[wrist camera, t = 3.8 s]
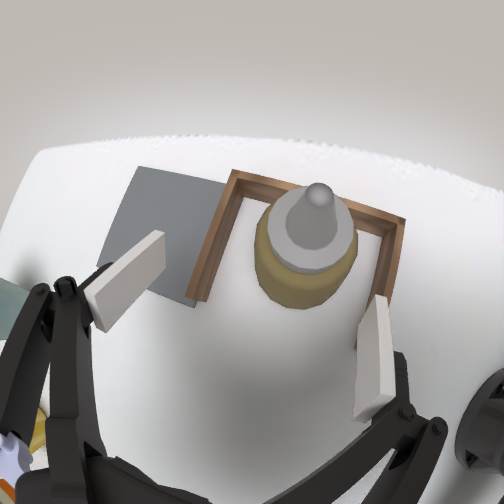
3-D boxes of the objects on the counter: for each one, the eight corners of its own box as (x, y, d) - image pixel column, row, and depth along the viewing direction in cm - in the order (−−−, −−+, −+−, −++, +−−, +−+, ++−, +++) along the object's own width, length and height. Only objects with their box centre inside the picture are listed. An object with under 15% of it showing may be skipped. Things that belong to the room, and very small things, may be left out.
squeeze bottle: (255, 236, 29) (217, 127, 12) (331, 229, 28) (383, 117, 11) (261, 313, 27) (222, 309, 10) (340, 306, 27) (428, 286, 9)
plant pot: (26, 435, 26) (-12, 445, 16) (18, 384, 28) (-24, 388, 19) (64, 460, 25) (24, 478, 15) (55, 406, 27) (8, 417, 18)
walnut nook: (390, 232, 28) (405, 218, 23) (361, 350, 25) (374, 355, 21) (239, 188, 31) (232, 169, 26) (199, 299, 28) (184, 296, 24)
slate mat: (237, 188, 31) (237, 186, 30) (194, 308, 28) (192, 307, 28) (140, 167, 33) (138, 165, 33) (98, 267, 31) (96, 266, 30)
